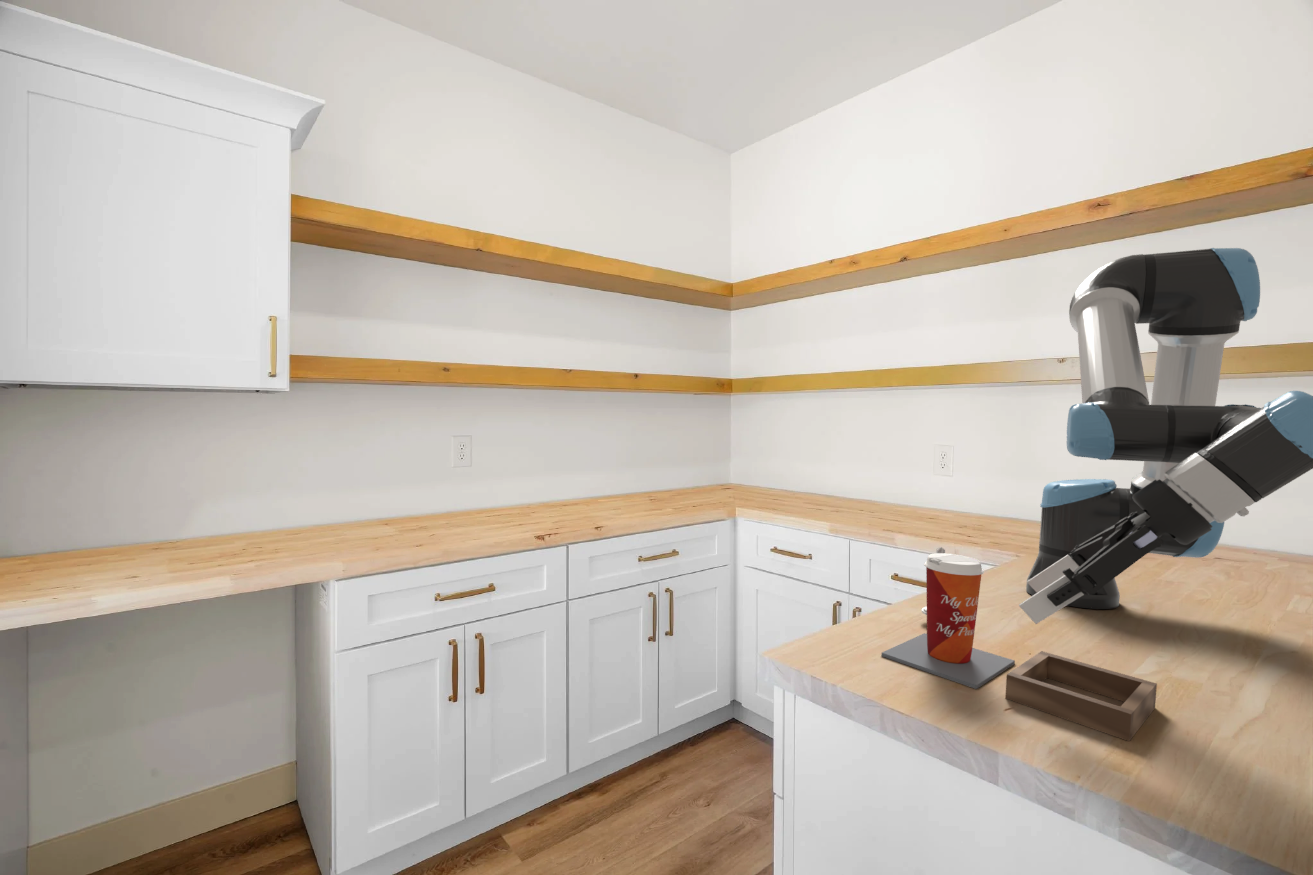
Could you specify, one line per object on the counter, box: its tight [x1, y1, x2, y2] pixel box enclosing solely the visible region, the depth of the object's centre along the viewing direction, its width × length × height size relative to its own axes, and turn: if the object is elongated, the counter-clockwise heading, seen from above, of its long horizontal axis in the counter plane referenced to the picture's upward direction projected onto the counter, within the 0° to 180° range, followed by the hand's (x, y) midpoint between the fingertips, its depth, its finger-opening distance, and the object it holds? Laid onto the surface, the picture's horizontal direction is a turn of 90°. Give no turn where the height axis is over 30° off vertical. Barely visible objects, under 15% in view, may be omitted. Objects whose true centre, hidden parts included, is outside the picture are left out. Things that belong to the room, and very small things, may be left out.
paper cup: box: [923, 552, 985, 664], centre depth 87 cm, size 8×8×14 cm
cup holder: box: [1004, 650, 1158, 742], centre depth 75 cm, size 12×12×3 cm
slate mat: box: [881, 632, 1016, 690], centre depth 87 cm, size 13×13×1 cm
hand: (1031, 601), depth 81 cm, fingers open, 13 cm apart
